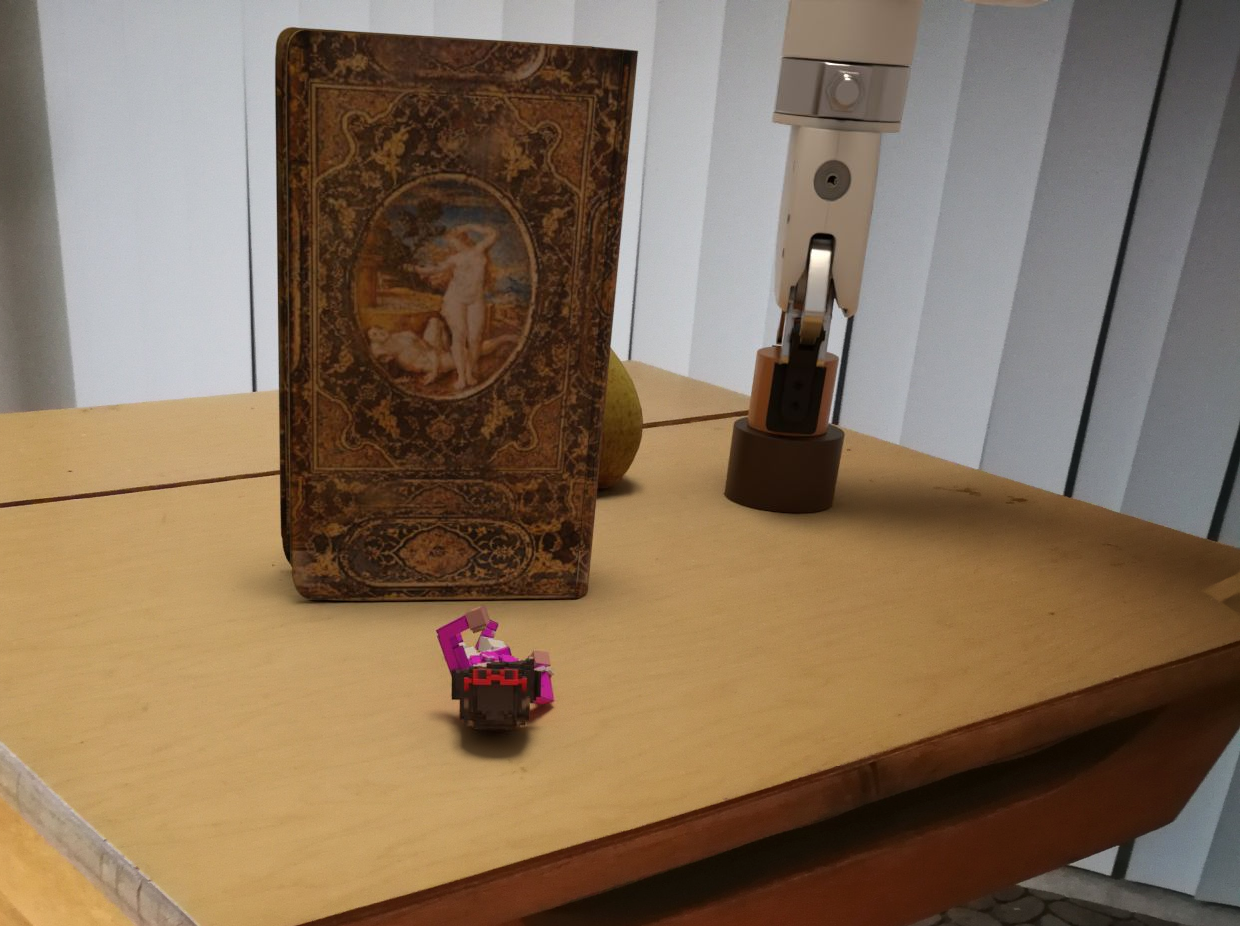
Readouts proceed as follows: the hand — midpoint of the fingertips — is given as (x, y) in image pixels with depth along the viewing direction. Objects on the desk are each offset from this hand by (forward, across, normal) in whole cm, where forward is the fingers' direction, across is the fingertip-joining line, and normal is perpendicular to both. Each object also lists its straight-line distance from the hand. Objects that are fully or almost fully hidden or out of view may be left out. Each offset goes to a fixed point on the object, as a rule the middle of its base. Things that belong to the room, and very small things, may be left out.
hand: (788, 418), depth 99 cm
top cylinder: (+1, 0, 0) cm, 1 cm away
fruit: (+5, -1, +14) cm, 15 cm away
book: (+5, -25, +19) cm, 32 cm away
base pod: (+5, 0, 0) cm, 5 cm away
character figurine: (+5, -41, +14) cm, 44 cm away
